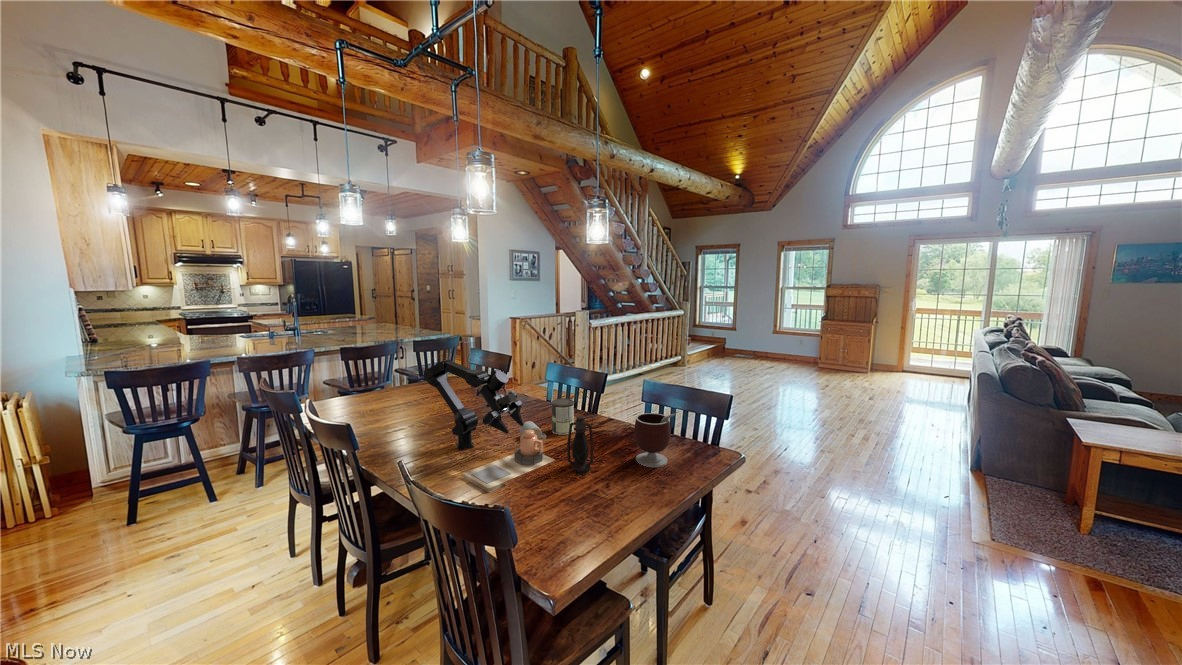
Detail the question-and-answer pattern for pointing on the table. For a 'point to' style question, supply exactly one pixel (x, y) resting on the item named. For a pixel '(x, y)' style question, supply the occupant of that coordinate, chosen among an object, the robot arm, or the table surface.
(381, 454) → the table surface
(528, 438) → the peach jug
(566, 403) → the coffee can
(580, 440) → the lantern
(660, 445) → the mate gourd
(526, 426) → the ceramic mug
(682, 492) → the table surface
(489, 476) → the board
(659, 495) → the table surface
